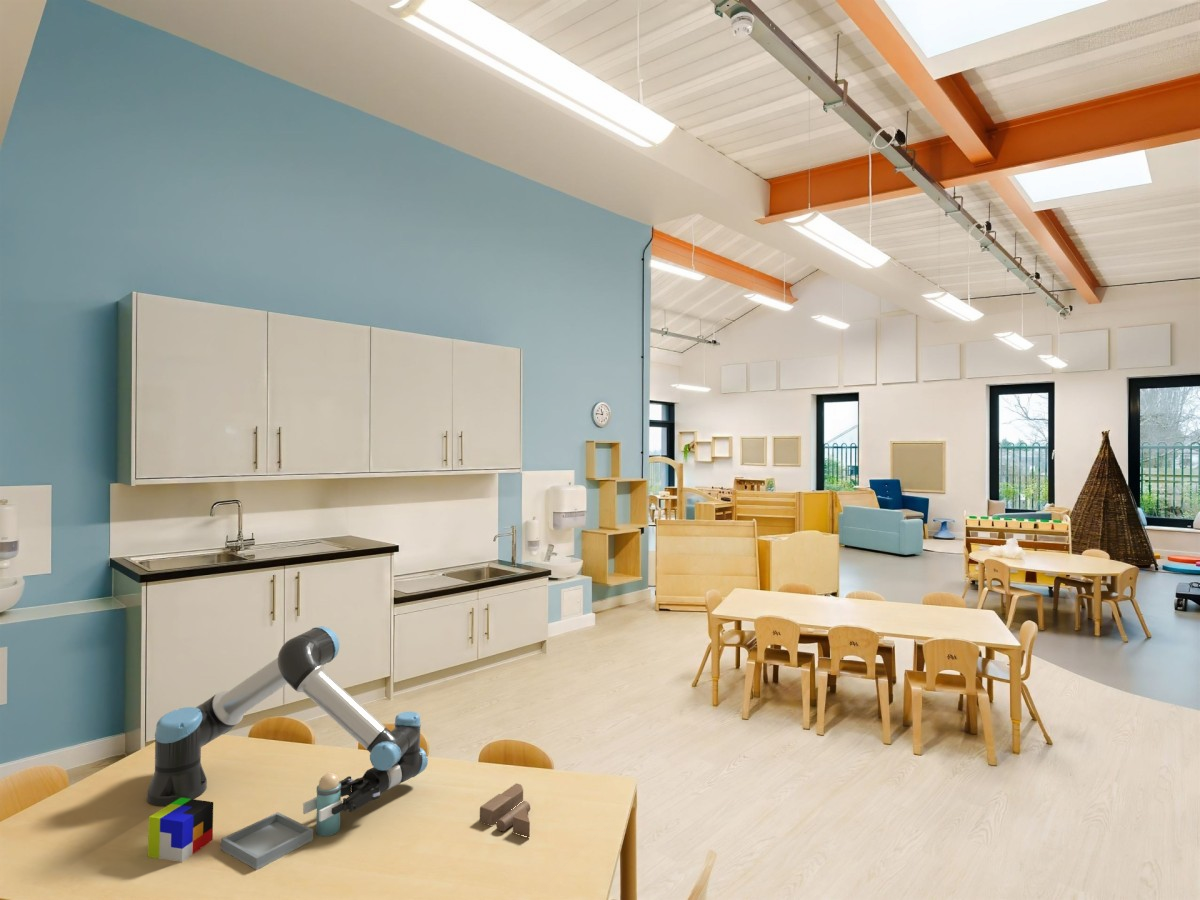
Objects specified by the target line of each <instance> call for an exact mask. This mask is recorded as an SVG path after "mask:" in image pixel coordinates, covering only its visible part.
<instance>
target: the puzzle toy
mask: <svg viewBox="0 0 1200 900" xmlns="http://www.w3.org/2000/svg"><path fill="white" fill-rule="evenodd" d="M213 827H214V801H208V800H201V799H195V798H194V799H188V798H179V799H178V800H176V801H174V802H173V803H171V804H169V805H165V807H163V808H162V809H161V808H160V809H159V810H158V811H156V812H155V813H153V814H151V815H149V817H148V841H147V842H148V843H147V844H148V845H147V857H148V858H154V859H160V860H167V861H171V862H172V861H174V862H180V863H183V862H184V861H186V860H187V859H188V858H190V857H191V856H193V855H194V854H195V853H197V852H198V851H199V850H201V849H202V848H204V847H205V846H206V845H208V844H209V843H210V842H212V841H213V835H214V834H213V833H214V832H213V831H214V828H213Z"/></svg>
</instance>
